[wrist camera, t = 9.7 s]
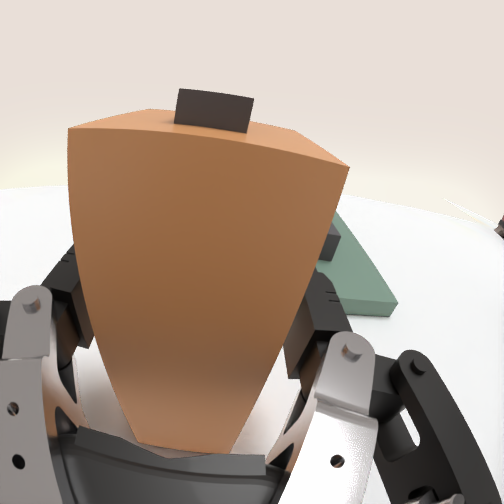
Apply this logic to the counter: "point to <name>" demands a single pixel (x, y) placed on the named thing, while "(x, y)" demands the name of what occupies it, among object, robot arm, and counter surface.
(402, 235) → the counter surface
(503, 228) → the reddish brown chest
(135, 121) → the plug
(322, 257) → the board
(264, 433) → the counter surface
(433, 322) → the counter surface
